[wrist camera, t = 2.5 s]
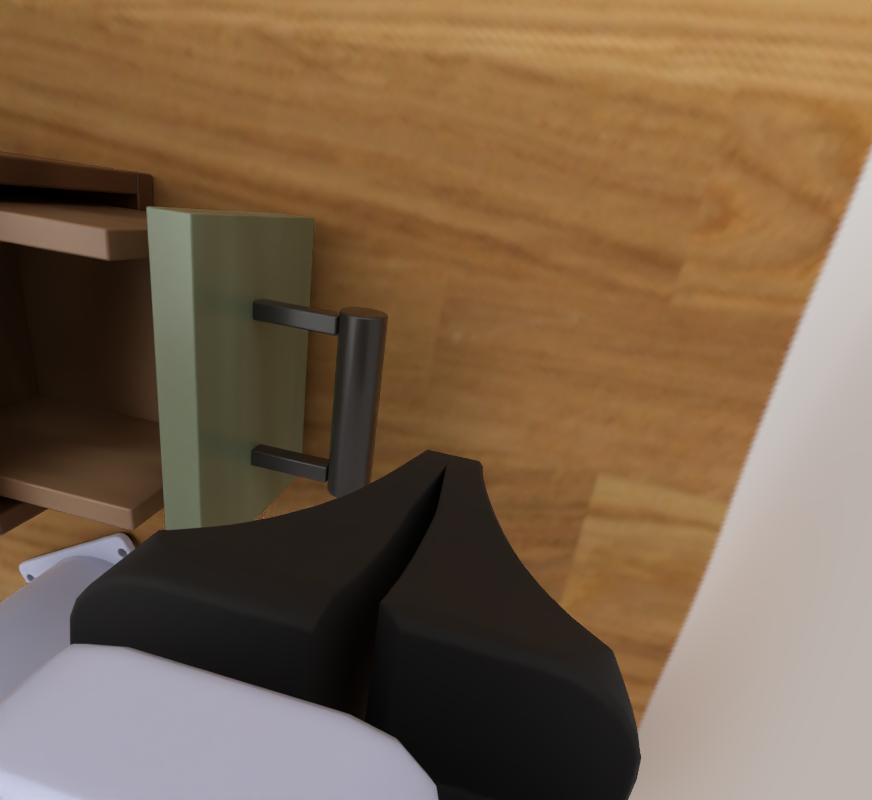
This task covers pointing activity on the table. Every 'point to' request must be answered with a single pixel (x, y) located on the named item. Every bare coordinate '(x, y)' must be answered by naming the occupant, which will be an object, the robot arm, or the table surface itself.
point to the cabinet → (75, 185)
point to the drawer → (169, 362)
